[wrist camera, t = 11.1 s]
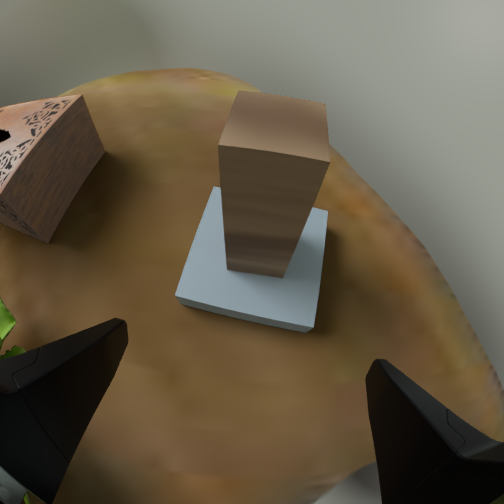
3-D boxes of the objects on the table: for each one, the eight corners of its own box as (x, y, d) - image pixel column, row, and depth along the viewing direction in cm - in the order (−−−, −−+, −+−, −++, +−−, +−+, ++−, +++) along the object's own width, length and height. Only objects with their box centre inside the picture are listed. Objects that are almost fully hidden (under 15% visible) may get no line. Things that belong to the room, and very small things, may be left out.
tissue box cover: (-28, 209, 27) (-58, 176, 18) (14, 146, 33) (-8, 109, 24) (49, 244, 25) (0, 194, 16) (106, 152, 31) (82, 94, 22)
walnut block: (282, 278, 22) (330, 162, 10) (226, 269, 22) (218, 144, 10) (287, 230, 24) (325, 104, 12) (236, 222, 24) (238, 90, 12)
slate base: (305, 332, 23) (313, 327, 20) (181, 303, 23) (175, 295, 21) (320, 224, 27) (327, 211, 25) (215, 201, 28) (213, 186, 26)
